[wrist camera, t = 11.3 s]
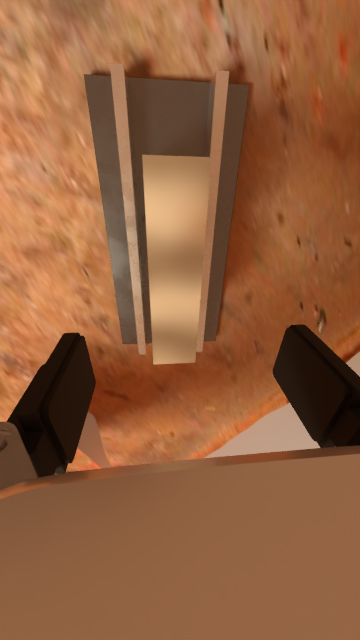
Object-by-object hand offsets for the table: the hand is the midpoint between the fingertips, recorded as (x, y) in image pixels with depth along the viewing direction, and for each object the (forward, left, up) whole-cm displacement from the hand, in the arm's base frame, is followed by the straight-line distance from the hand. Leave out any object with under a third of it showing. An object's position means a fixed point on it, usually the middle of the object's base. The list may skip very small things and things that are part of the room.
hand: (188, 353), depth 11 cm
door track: (0, 0, -20) cm, 20 cm away
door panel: (0, 0, -19) cm, 19 cm away
